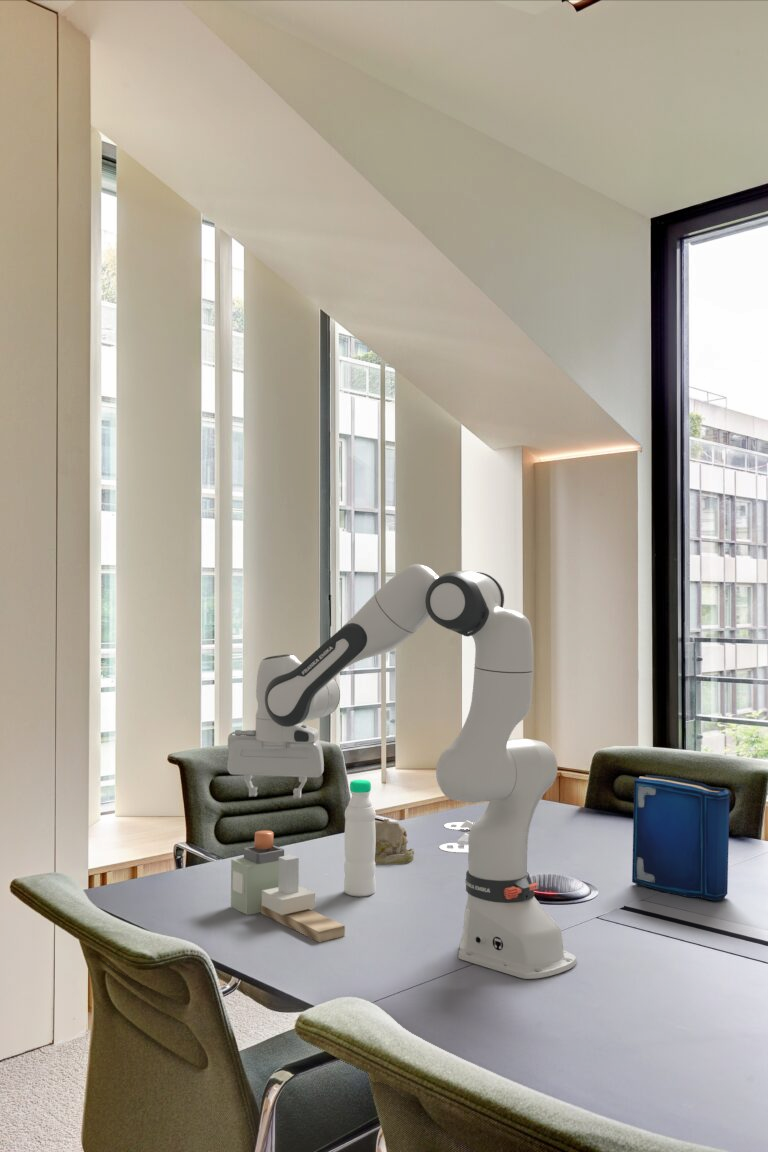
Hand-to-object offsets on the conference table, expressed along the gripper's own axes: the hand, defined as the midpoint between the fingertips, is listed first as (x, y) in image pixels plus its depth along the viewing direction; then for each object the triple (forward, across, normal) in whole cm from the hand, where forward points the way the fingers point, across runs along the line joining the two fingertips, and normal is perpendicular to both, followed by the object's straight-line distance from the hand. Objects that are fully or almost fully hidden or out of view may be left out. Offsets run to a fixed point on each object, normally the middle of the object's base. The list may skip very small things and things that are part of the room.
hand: (275, 796), depth 199 cm
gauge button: (+12, -3, +4) cm, 13 cm away
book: (+23, +90, +23) cm, 95 cm away
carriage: (+22, +4, -3) cm, 22 cm away
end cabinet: (+24, -3, +4) cm, 25 cm away
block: (+24, +7, -7) cm, 26 cm away
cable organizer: (+26, +46, +70) cm, 87 cm away
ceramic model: (+25, +21, +45) cm, 56 cm away
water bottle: (+24, +17, +15) cm, 33 cm away
